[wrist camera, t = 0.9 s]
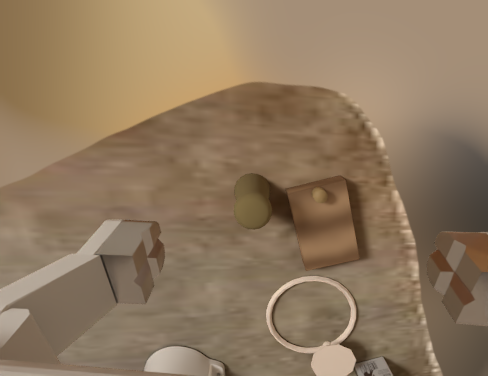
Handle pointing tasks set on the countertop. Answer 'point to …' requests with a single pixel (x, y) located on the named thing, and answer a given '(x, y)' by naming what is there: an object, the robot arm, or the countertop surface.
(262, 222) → the cork
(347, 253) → the plane block
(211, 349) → the countertop surface
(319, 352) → the hand towel holder
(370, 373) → the coffee box
